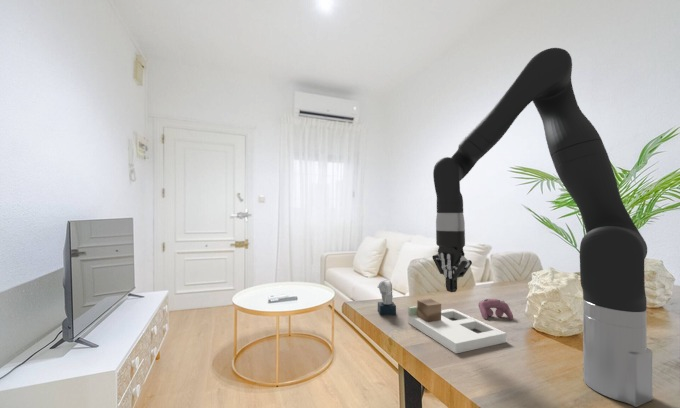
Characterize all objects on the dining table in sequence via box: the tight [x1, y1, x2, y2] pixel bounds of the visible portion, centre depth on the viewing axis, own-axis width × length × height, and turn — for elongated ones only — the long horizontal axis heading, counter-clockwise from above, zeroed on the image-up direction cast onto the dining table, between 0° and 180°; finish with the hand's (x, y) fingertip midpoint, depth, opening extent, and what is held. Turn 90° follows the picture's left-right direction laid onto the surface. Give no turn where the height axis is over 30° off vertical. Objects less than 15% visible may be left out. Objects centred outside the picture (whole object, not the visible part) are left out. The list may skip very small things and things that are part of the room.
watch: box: [377, 280, 397, 316], centre depth 97 cm, size 6×8×11 cm
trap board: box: [407, 305, 507, 354], centre depth 82 cm, size 20×18×5 cm
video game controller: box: [477, 298, 514, 321], centre depth 95 cm, size 10×5×7 cm, turn 85°
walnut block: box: [416, 298, 442, 322], centre depth 86 cm, size 5×5×5 cm
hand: (451, 291), depth 77 cm, fingers closed
